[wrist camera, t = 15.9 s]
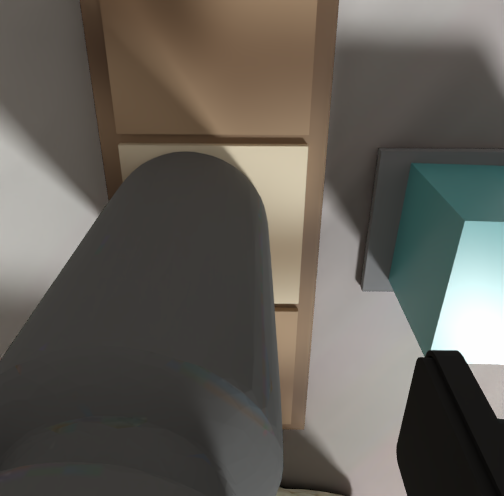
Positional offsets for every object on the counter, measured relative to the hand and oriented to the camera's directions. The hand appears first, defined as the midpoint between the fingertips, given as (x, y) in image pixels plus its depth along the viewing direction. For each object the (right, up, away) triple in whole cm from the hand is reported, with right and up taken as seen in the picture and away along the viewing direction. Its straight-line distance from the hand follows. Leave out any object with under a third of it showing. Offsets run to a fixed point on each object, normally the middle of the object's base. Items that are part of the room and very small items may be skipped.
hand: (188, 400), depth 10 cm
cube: (+9, +4, +9) cm, 14 cm away
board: (0, +4, +9) cm, 10 cm away
